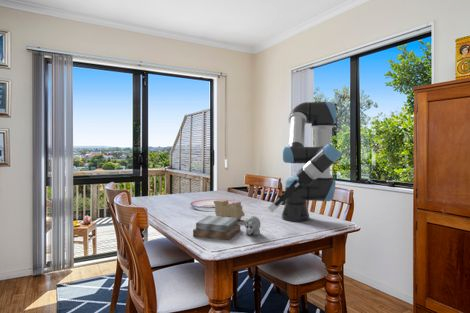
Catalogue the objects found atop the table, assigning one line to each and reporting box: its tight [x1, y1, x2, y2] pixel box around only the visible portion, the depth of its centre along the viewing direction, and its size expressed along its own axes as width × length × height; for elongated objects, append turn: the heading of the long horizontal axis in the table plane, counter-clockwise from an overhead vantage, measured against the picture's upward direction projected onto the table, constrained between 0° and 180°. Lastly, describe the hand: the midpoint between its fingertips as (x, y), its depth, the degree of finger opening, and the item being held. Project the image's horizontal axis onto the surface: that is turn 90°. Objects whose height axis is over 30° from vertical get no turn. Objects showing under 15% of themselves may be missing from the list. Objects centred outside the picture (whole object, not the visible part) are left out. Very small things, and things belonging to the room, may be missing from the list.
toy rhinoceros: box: [244, 215, 261, 237], centre depth 142 cm, size 7×12×8 cm, turn 163°
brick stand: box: [192, 215, 241, 241], centre depth 146 cm, size 17×17×6 cm
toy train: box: [213, 199, 246, 221], centre depth 173 cm, size 6×17×10 cm, turn 57°
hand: (273, 206), depth 138 cm, fingers open, 13 cm apart
